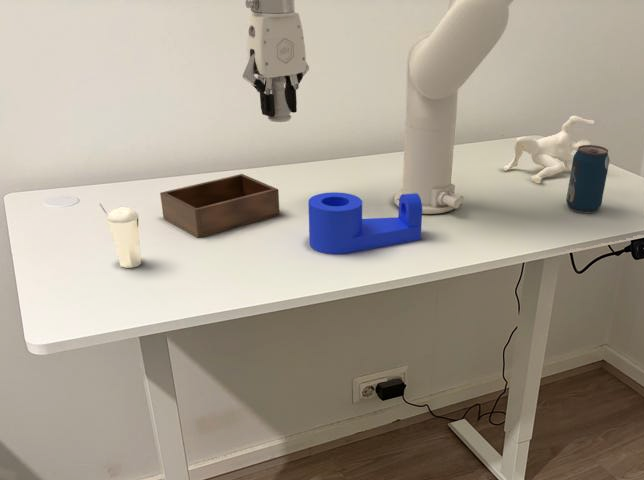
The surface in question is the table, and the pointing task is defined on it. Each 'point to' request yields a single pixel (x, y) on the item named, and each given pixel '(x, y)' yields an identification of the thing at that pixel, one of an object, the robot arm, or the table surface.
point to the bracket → (359, 224)
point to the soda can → (587, 179)
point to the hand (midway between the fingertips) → (279, 112)
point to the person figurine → (550, 149)
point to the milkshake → (125, 235)
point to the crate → (219, 204)
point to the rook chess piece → (279, 100)
